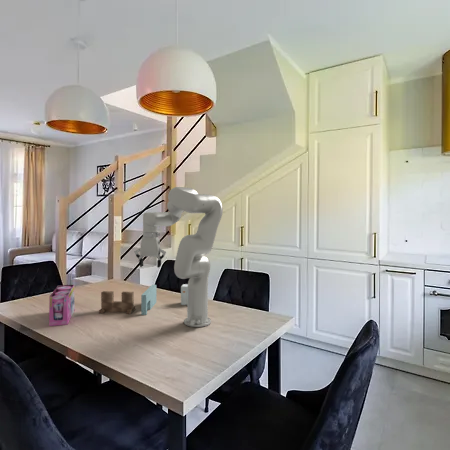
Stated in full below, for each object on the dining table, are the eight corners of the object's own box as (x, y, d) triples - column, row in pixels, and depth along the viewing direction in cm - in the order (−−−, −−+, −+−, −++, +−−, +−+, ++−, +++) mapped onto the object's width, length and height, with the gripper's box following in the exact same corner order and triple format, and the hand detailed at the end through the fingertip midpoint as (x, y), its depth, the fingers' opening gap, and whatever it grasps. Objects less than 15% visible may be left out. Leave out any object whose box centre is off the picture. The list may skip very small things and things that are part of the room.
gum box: (67, 325, 146) (67, 296, 145) (48, 327, 144) (47, 297, 143) (75, 310, 169) (74, 284, 168) (58, 311, 167) (57, 285, 166)
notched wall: (135, 309, 171) (135, 290, 171) (130, 313, 163) (130, 294, 163) (105, 308, 172) (105, 289, 171) (99, 313, 164) (98, 293, 163)
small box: (196, 302, 184) (197, 284, 183) (195, 305, 178) (195, 286, 178) (183, 302, 185) (183, 283, 184) (180, 305, 179) (180, 286, 179)
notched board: (146, 314, 162) (146, 295, 162) (141, 314, 162) (141, 295, 162) (156, 302, 184) (156, 284, 183) (152, 302, 184) (152, 284, 184)
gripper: (167, 235, 177) (167, 266, 178) (137, 234, 179) (137, 265, 180) (163, 236, 170) (163, 268, 171) (132, 235, 172) (132, 267, 172)
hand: (150, 266), depth 175 cm, fingers open, 9 cm apart
